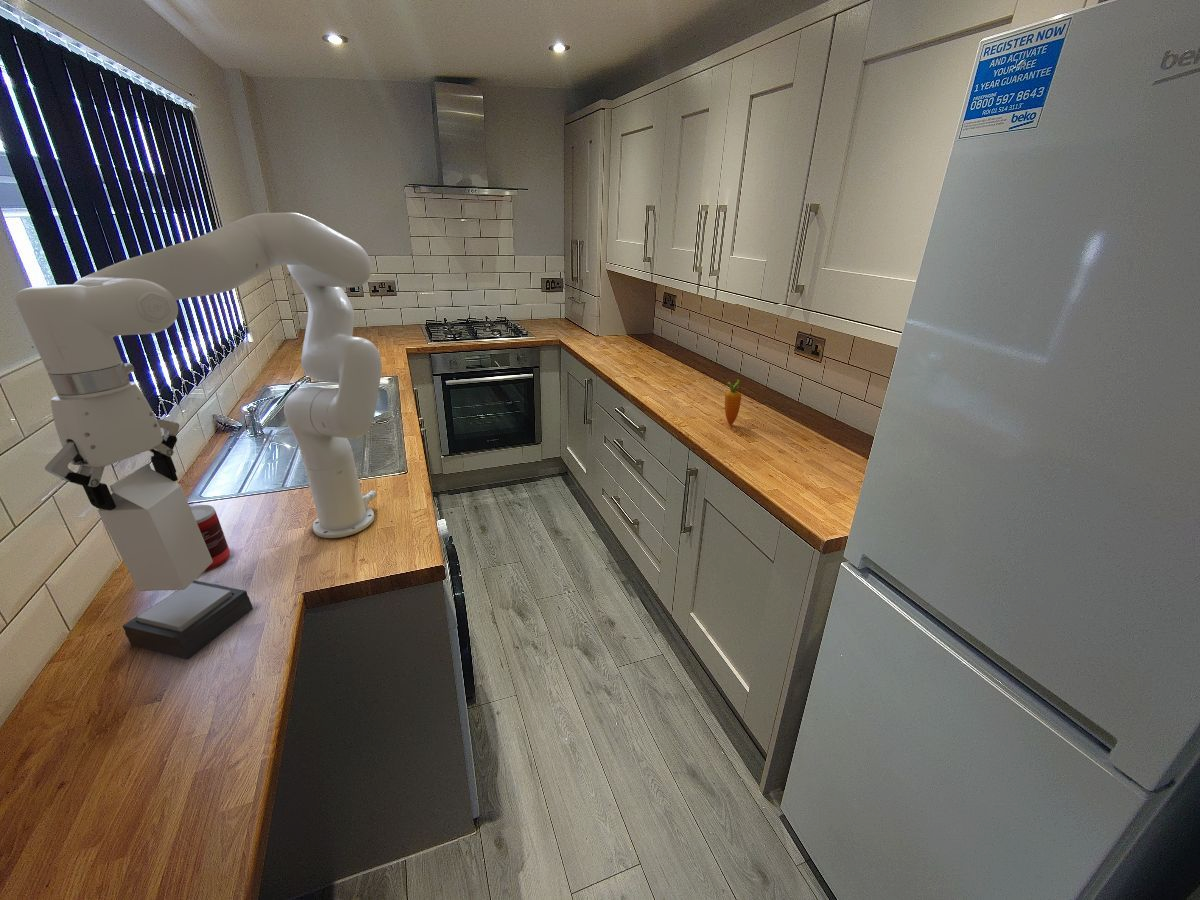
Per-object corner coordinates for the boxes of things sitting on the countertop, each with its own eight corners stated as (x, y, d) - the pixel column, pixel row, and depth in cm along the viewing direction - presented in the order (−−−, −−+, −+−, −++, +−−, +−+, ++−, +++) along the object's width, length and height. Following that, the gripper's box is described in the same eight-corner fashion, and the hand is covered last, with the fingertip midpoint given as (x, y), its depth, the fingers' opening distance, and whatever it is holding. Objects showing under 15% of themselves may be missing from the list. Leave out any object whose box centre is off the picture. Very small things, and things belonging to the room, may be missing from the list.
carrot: (723, 427, 168) (726, 382, 162) (722, 422, 172) (726, 378, 166) (739, 428, 167) (743, 382, 161) (737, 422, 172) (742, 378, 166)
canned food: (189, 556, 107) (170, 509, 103) (234, 546, 110) (218, 501, 105) (178, 577, 101) (158, 528, 96) (227, 567, 103) (209, 519, 99)
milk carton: (214, 562, 88) (171, 462, 80) (185, 590, 82) (135, 485, 73) (171, 563, 88) (124, 463, 80) (139, 592, 82) (84, 486, 73)
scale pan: (193, 589, 92) (190, 582, 91) (233, 597, 90) (230, 590, 89) (139, 624, 84) (136, 617, 83) (182, 634, 82) (179, 627, 81)
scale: (200, 597, 95) (193, 579, 93) (253, 608, 92) (246, 590, 90) (130, 645, 84) (121, 625, 83) (187, 659, 82) (179, 639, 80)
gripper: (138, 363, 80) (176, 466, 87) (-10, 398, 64) (52, 520, 71) (175, 366, 78) (212, 471, 85) (32, 402, 62) (92, 527, 69)
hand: (138, 493), depth 78 cm, fingers closed on milk carton, 8 cm apart
